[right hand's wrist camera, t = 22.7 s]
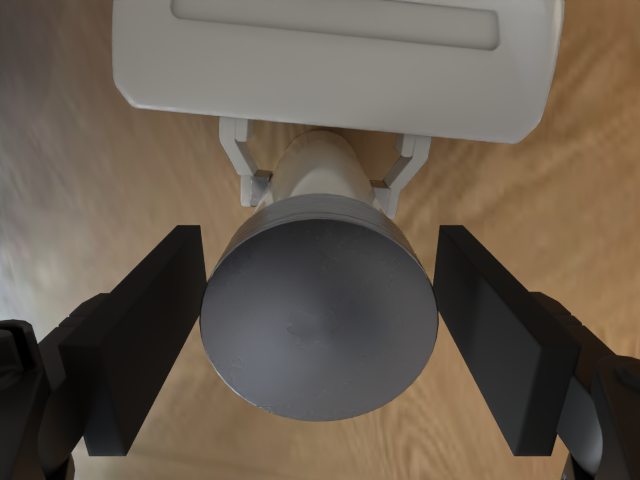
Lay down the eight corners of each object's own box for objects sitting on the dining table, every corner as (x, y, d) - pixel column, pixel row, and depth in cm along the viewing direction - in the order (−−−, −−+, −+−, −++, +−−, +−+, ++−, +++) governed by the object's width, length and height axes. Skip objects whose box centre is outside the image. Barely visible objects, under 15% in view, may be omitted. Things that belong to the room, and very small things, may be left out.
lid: (390, 163, 11) (406, 182, 9) (438, 342, 13) (460, 391, 11) (185, 229, 11) (156, 262, 9) (262, 389, 13) (252, 443, 11)
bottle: (269, 191, 29) (190, 361, 11) (297, 117, 27) (254, 182, 9) (340, 219, 29) (369, 418, 12) (371, 148, 27) (461, 263, 10)
